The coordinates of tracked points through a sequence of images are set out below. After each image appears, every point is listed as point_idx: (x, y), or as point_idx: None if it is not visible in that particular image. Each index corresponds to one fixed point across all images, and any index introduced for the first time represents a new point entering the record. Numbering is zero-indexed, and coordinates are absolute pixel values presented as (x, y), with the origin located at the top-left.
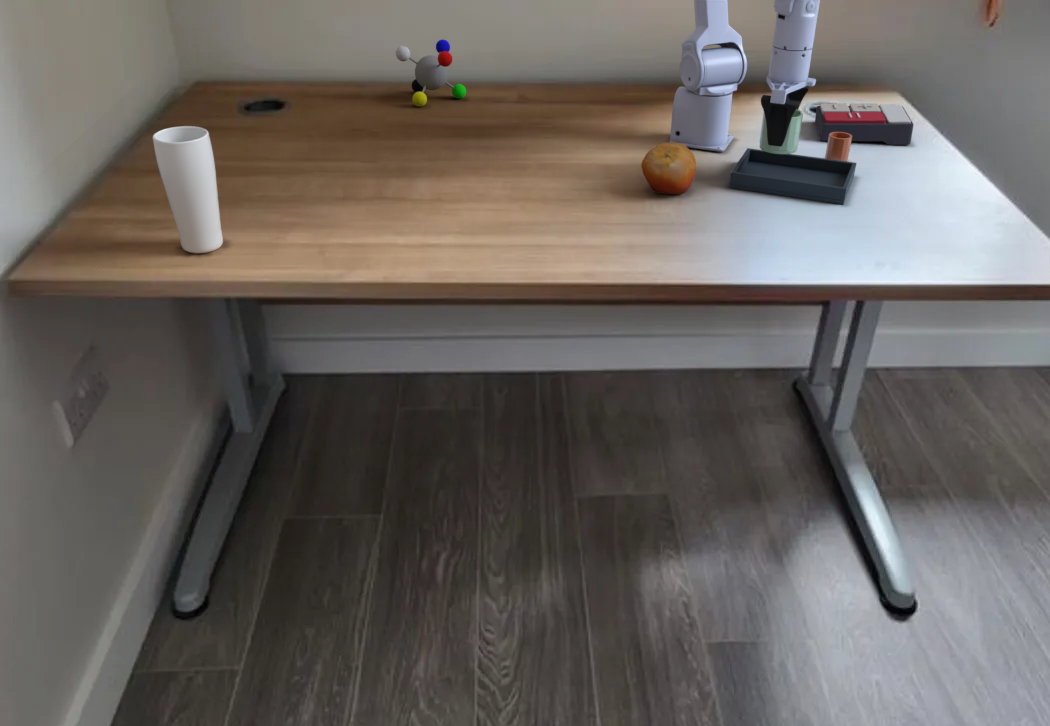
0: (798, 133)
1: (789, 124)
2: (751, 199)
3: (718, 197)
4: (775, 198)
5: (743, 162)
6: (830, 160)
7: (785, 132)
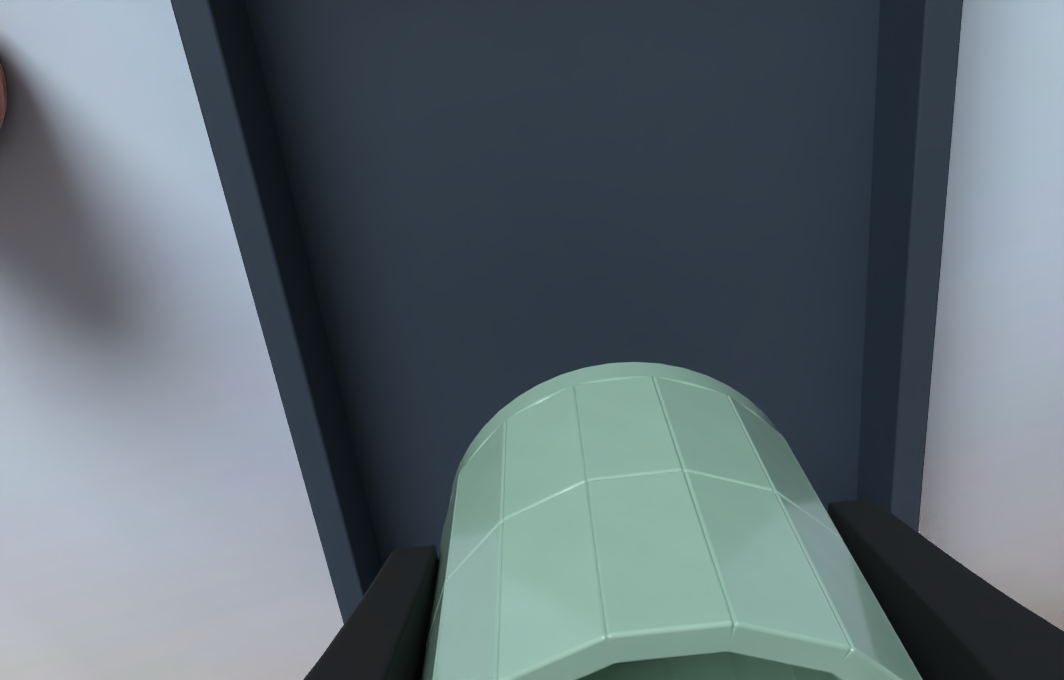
0: (694, 462)
1: (965, 639)
2: (1023, 391)
3: (1048, 555)
4: (952, 263)
5: None
6: (220, 62)
7: (993, 587)
